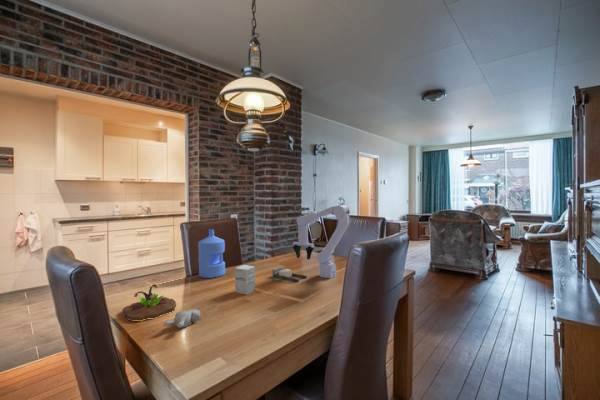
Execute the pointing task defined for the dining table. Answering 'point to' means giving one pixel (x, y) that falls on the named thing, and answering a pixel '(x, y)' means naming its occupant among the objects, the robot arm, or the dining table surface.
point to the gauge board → (293, 279)
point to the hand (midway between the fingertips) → (303, 258)
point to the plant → (149, 306)
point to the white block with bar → (285, 272)
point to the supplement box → (245, 279)
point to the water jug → (211, 256)
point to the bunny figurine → (184, 318)
